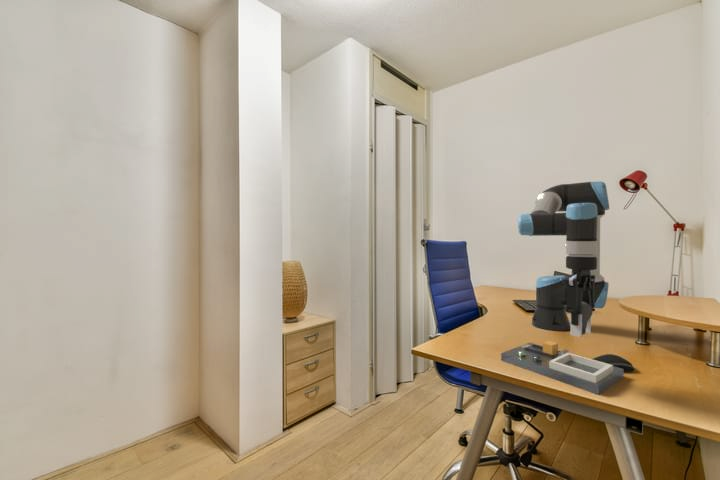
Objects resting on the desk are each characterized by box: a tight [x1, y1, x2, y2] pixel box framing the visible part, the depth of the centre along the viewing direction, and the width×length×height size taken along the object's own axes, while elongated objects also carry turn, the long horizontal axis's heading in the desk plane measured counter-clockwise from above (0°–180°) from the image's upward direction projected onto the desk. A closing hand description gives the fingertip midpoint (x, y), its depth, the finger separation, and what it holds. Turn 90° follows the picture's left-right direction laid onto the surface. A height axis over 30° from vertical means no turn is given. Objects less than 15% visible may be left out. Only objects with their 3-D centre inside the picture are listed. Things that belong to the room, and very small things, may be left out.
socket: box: [549, 352, 613, 383], centre depth 94 cm, size 12×12×2 cm
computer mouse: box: [591, 353, 635, 373], centre depth 101 cm, size 7×12×4 cm, turn 81°
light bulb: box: [580, 302, 593, 336], centre depth 93 cm, size 6×6×10 cm
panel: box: [500, 342, 625, 396], centre depth 101 cm, size 18×28×4 cm, turn 34°
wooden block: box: [542, 340, 559, 355], centre depth 106 cm, size 4×3×4 cm
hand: (580, 333), depth 93 cm, fingers closed on light bulb, 5 cm apart
